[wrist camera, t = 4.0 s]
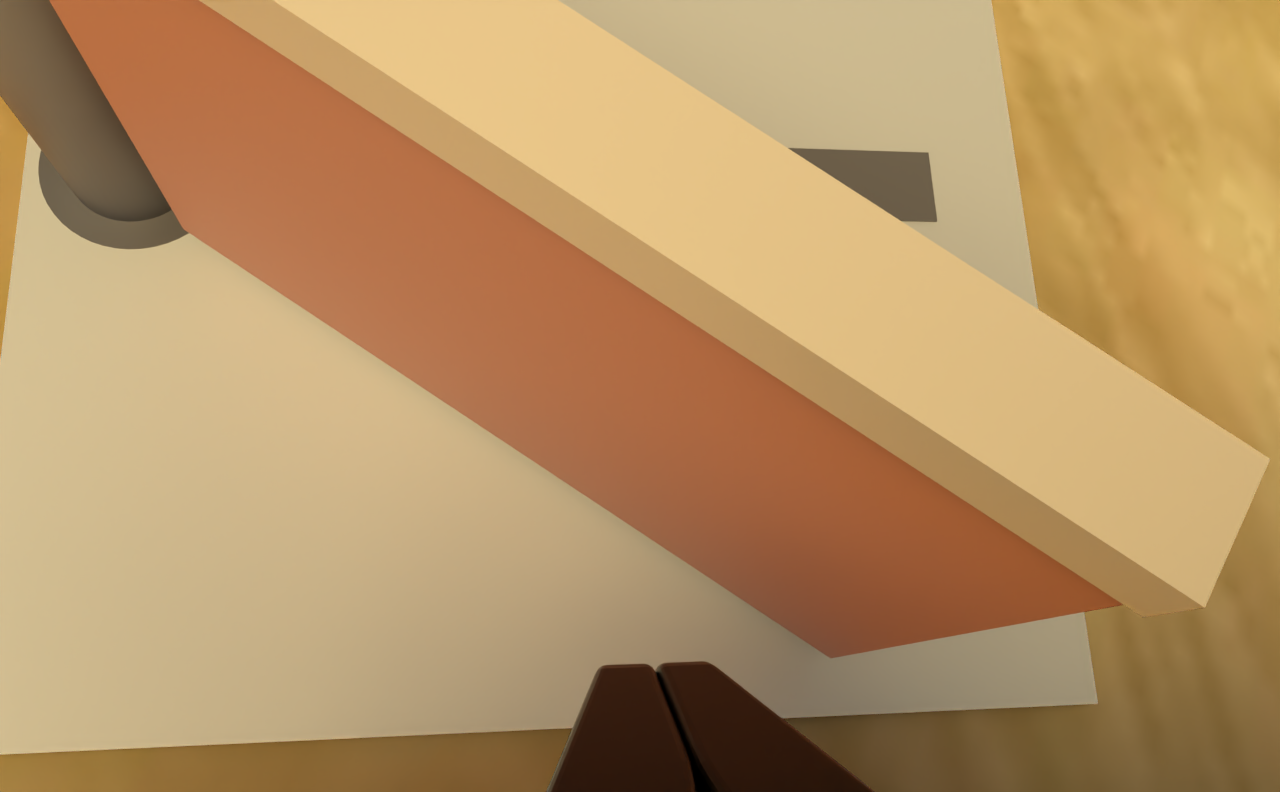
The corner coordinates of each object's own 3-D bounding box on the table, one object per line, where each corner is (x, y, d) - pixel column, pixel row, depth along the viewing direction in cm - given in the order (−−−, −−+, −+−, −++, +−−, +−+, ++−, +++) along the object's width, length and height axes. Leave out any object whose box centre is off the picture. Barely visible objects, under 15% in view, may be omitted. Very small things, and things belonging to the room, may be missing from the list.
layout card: (1086, 704, 16) (1099, 703, 16) (-37, 756, 14) (-50, 756, 13) (952, -198, 20) (959, -213, 20) (85, -269, 18) (78, -287, 18)
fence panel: (176, 237, 15) (-128, -261, 8) (232, 174, 16) (-3, -363, 8) (825, 667, 15) (1204, 608, 7) (866, 593, 15) (1269, 458, 8)
